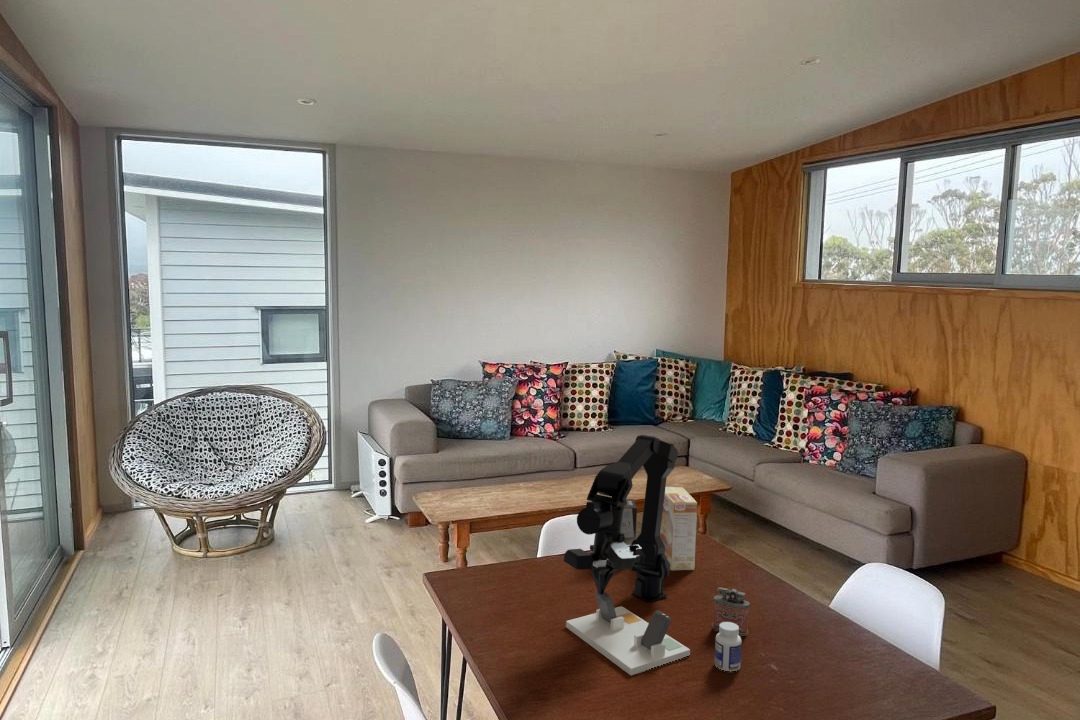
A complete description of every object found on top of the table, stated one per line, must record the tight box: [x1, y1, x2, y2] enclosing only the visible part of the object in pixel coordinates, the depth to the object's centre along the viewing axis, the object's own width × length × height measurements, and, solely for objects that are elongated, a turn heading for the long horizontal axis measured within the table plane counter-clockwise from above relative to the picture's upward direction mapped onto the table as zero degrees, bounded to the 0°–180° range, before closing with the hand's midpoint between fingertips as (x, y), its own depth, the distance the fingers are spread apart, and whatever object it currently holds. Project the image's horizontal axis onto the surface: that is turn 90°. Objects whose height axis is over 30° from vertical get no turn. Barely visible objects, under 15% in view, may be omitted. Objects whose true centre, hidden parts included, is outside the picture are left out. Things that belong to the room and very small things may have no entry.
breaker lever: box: [594, 590, 617, 624], centre depth 172 cm, size 2×4×8 cm, turn 31°
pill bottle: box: [714, 622, 742, 673], centre depth 158 cm, size 5×5×9 cm
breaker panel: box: [565, 605, 691, 676], centre depth 167 cm, size 16×24×9 cm, turn 31°
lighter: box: [711, 587, 751, 635], centre depth 173 cm, size 8×3×10 cm, turn 65°
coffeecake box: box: [660, 486, 698, 571], centre depth 215 cm, size 15×7×20 cm, turn 5°
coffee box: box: [621, 498, 638, 546], centre depth 216 cm, size 9×6×16 cm
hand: (600, 594), depth 170 cm, fingers closed, pressing on breaker lever
